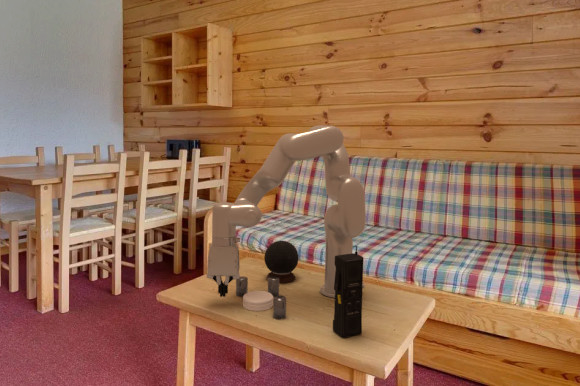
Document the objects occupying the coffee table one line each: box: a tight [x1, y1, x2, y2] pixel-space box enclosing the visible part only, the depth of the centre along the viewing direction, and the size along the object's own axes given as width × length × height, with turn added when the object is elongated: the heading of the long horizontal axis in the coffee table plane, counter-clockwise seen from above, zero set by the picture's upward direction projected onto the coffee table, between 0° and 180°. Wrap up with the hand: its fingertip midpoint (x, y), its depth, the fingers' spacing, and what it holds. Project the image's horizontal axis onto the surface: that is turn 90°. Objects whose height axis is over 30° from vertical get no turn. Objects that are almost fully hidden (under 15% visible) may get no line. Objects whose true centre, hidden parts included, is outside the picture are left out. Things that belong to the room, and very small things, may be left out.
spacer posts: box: [235, 275, 287, 320], centre depth 147 cm, size 17×22×6 cm
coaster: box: [242, 290, 274, 312], centre depth 148 cm, size 10×10×4 cm
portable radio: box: [332, 245, 364, 339], centre depth 127 cm, size 8×6×25 cm
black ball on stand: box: [264, 240, 300, 285], centre depth 173 cm, size 13×13×15 cm
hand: (222, 295), depth 147 cm, fingers closed
